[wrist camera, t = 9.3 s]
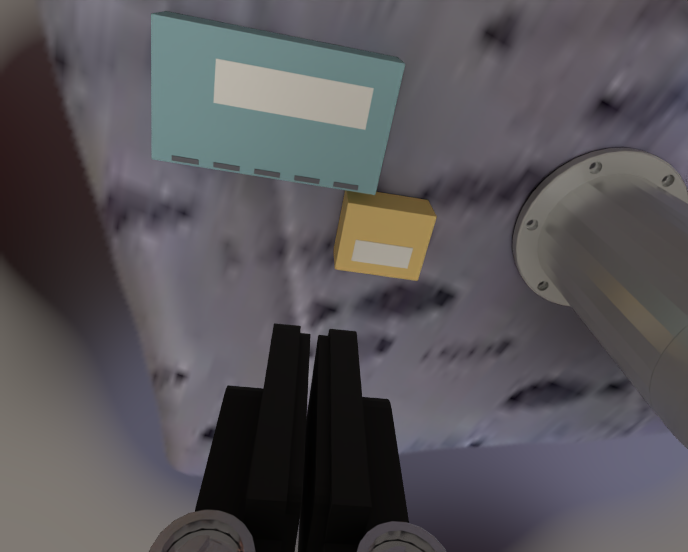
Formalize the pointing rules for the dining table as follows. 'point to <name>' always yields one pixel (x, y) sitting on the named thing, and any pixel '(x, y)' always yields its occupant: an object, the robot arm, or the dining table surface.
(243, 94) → the teal labeled router
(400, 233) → the yellow labeled box
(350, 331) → the robot arm
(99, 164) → the dining table surface
